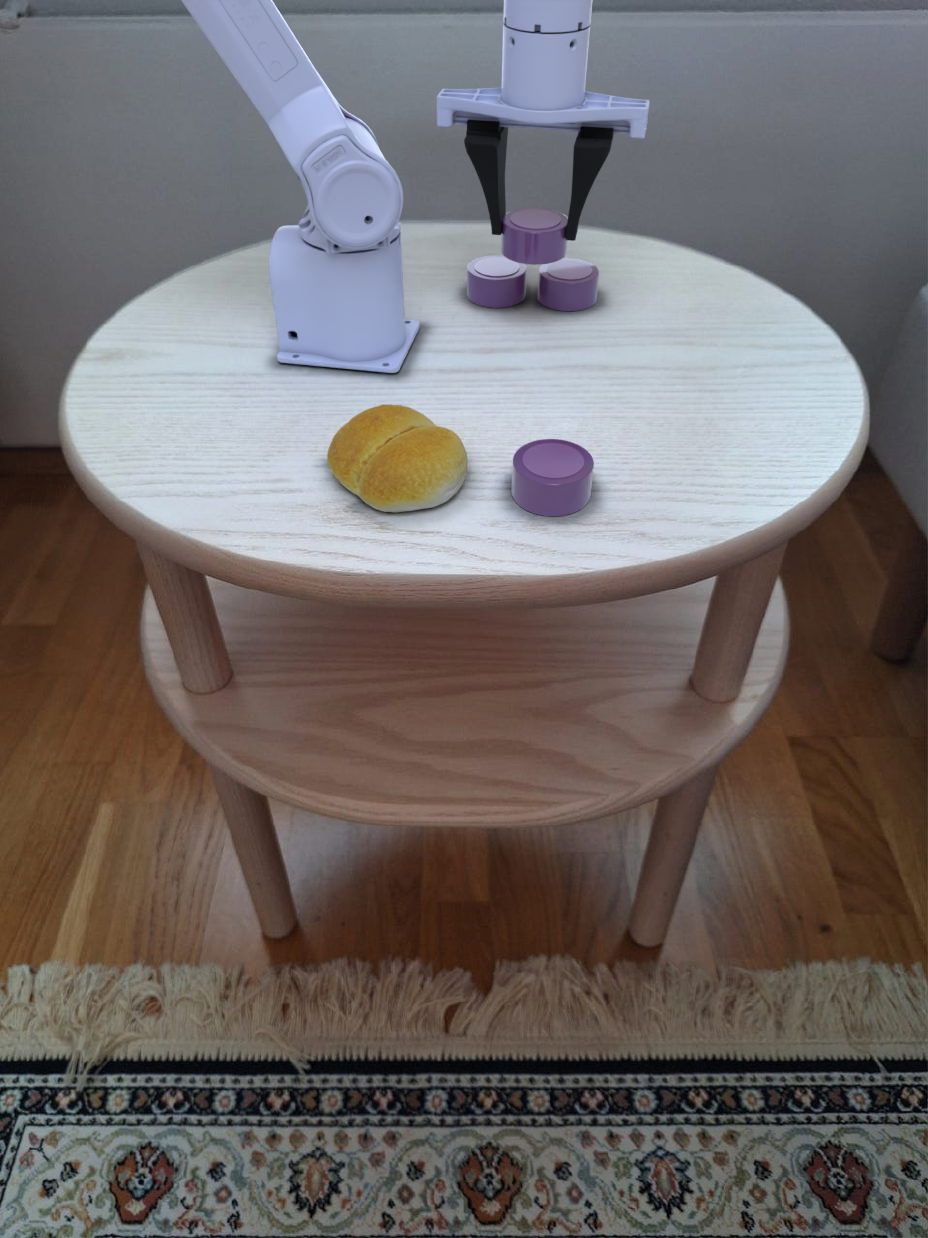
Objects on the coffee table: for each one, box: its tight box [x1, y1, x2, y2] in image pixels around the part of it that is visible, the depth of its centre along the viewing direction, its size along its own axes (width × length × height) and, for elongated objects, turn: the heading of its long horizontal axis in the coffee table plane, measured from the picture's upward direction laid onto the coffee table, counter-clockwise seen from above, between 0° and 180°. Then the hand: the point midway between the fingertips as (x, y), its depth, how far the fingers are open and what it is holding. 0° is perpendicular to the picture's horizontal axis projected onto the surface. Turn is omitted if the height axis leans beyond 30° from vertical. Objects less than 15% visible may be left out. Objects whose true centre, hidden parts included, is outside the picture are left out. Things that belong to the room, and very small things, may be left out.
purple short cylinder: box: [466, 254, 528, 309], centre depth 80 cm, size 5×5×2 cm
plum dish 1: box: [500, 207, 568, 266], centre depth 72 cm, size 5×5×2 cm
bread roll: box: [326, 404, 469, 513], centre depth 60 cm, size 8×9×4 cm
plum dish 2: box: [537, 257, 600, 312], centre depth 79 cm, size 5×5×2 cm
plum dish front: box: [510, 438, 595, 517], centre depth 59 cm, size 5×5×2 cm
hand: (535, 232), depth 71 cm, fingers closed on plum dish 1, 5 cm apart
